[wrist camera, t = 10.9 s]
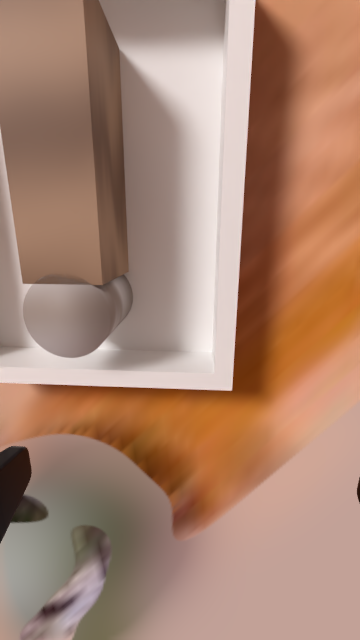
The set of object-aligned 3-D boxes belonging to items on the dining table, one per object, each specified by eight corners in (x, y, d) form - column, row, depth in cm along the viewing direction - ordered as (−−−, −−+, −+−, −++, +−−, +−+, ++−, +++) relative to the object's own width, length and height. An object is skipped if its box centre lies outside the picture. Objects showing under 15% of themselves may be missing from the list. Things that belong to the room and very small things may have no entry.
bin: (245, -16, 14) (261, -109, 10) (225, 360, 20) (232, 390, 16) (-65, -2, 15) (-154, -83, 11) (-2, 354, 21) (-47, 380, 17)
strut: (134, 327, 18) (111, 359, 14) (72, 325, 19) (29, 356, 14) (123, 49, 14) (86, -44, 10) (45, 51, 15) (-30, -39, 10)
